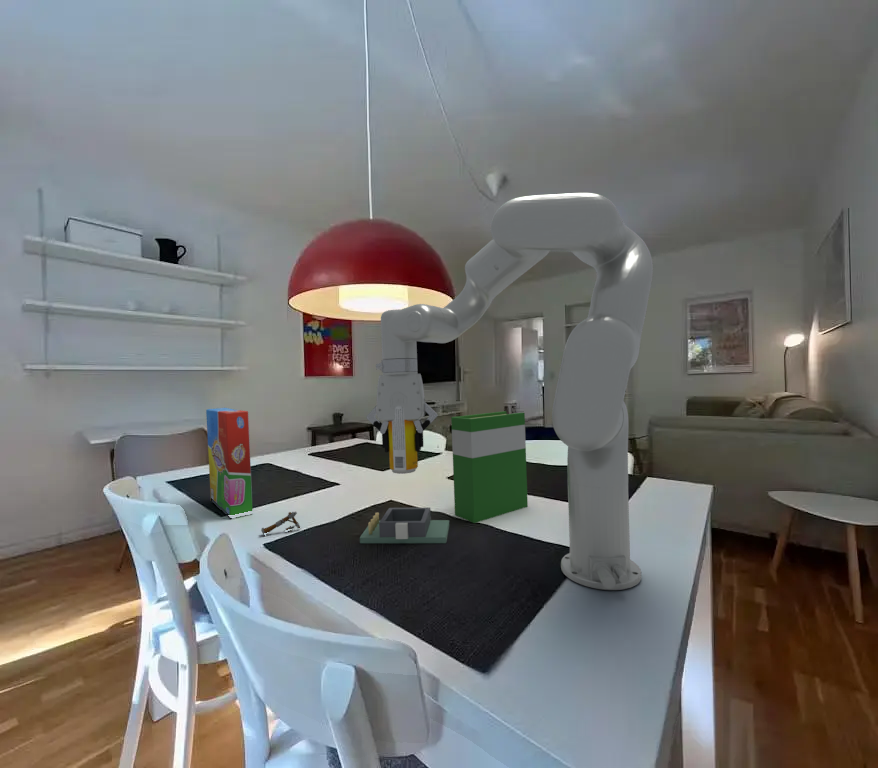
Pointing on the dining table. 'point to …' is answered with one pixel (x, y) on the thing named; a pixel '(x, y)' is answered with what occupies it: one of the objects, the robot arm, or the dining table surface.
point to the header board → (406, 527)
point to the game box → (229, 459)
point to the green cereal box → (489, 465)
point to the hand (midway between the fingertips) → (403, 450)
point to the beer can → (402, 444)
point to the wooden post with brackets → (280, 522)
